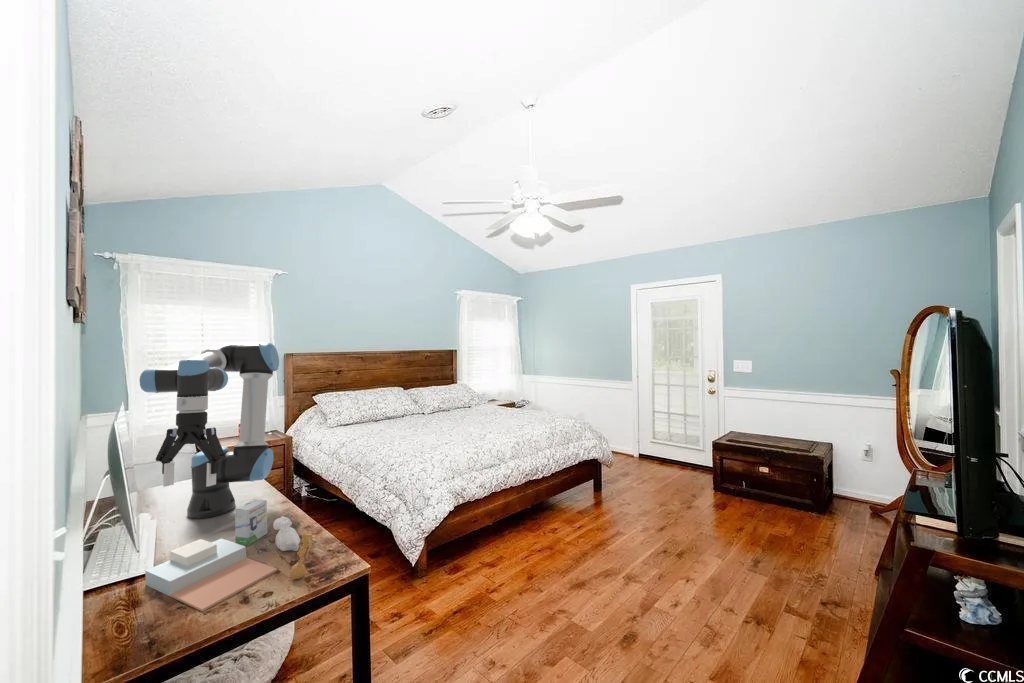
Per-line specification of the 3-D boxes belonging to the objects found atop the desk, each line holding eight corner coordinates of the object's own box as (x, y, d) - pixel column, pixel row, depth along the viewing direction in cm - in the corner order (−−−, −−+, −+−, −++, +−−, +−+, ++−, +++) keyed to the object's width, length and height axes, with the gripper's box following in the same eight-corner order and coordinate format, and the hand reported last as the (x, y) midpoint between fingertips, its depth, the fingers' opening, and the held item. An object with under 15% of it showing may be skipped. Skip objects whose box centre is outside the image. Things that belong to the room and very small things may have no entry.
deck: (221, 551, 138) (221, 538, 138) (246, 559, 133) (245, 546, 132) (145, 584, 120) (145, 570, 120) (170, 596, 115) (170, 581, 115)
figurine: (286, 574, 125) (285, 532, 124) (308, 566, 128) (307, 526, 128) (294, 587, 118) (293, 543, 118) (317, 579, 122) (316, 536, 122)
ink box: (255, 532, 150) (254, 498, 150) (268, 533, 149) (267, 499, 149) (234, 544, 142) (233, 508, 141) (248, 546, 141) (247, 509, 140)
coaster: (200, 547, 132) (200, 538, 132) (216, 552, 129) (216, 544, 129) (170, 559, 125) (170, 551, 125) (186, 566, 122) (186, 557, 122)
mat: (246, 559, 133) (246, 557, 133) (277, 570, 126) (277, 568, 126) (170, 596, 115) (170, 594, 115) (202, 611, 108) (202, 609, 108)
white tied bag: (282, 547, 144) (258, 527, 139) (302, 528, 148) (278, 507, 143) (291, 563, 135) (265, 541, 130) (312, 541, 138) (287, 519, 134)
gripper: (142, 413, 128) (138, 488, 126) (221, 411, 126) (219, 488, 124) (165, 411, 136) (162, 482, 134) (240, 409, 133) (238, 482, 131)
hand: (189, 485), depth 129 cm, fingers open, 13 cm apart
